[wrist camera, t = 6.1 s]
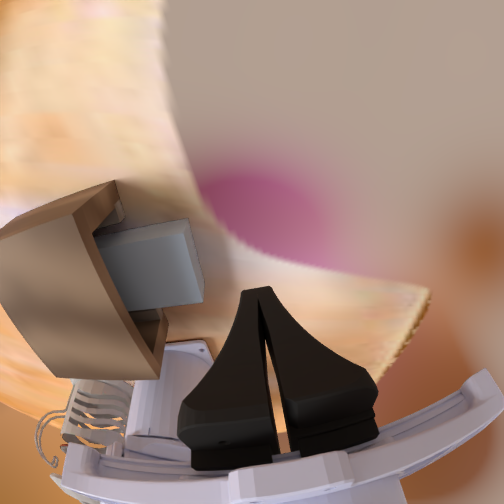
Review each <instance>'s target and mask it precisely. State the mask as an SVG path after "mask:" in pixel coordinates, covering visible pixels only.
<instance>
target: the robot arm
mask: <svg viewBox="0 0 504 504" xmlns="http://www.w3.org/2000/svg"><path fill="white" fill-rule="evenodd" d="M265 340H266V344H267V347H268V350H269V354H270V357H271V360H272V364H273V367H274V371H275V374H276V378H277V382H278V386H279V392H280V397H281V402H282V407H283V413H284V418H285V423H286V429H287V434H288V439H289V445H290V450H291V452H289V453H284V454H281V453H280V448H279V442H278V436H277V430H276V425H275V419H274V413H273V408H272V402H271V396H270V390H269V385H268V375H267V360H266V346H265ZM377 396H378V389H377V386H376V384H375V382H374V381H373V379H372V378H371V376H370V375H369V373H368V372H367V371H366V369H365V368H363V367H361V366H359V365H356V364H354V363H352V362H350V361H348V360H346V359H345V358H343V357H341V356H340V355H338V354H336V353H335V352H333V351H332V350H330V349H329V348H327V347H326V346H324V345H323V344H321V343H320V342H319V341H318V340H316V339H315V338H314V337H313V336H311V335H310V334H309V333H308V332H307V331H306V330H305V329H304V328H303V327H302V326H301V325H300V324H299V323H298V322H297V321H296V320H295V319H294V318H293V317H292V316H291V315H290V314H289V312H288V311H287V310H286V309H285V307H284V306H283V305H282V304H281V302H280V301H279V299H278V298H277V296H276V295H275V293H274V291H273V289H272V287H270V286H265V287H260V288H254V289H249V290H243V291H242V292H241V297H240V303H239V307H238V311H237V314H236V317H235V320H234V323H233V326H232V328H231V330H230V333H229V335H228V338H227V340H226V342H225V344H224V346H223V348H222V350H221V351H220V353H219V355H218V357H217V358H216V360H215V361H214V360H213V358H212V356H211V353H210V351H209V349H208V346H207V344H206V342H205V341H203V340H194V341H185V342H176V343H166V344H165V349H164V354H163V360H162V367H161V373H160V380H135V385H134V389H133V394H132V400H131V405H130V410H129V416H128V422H127V428H126V434H125V439H124V441H123V444H122V443H119V442H116V441H115V442H114V443H113V444H110V445H108V446H107V450H106V454H100V453H99V452H98V451H97V450H95V449H93V448H91V447H89V446H86V445H81V444H77V443H72V442H69V444H68V448H67V453H66V458H65V463H64V468H63V474H62V480H61V486H62V487H65V488H67V489H69V490H71V491H74V492H76V493H78V494H81V495H83V496H86V497H88V498H91V499H93V500H97V501H100V504H407V502H406V499H405V496H404V493H403V490H402V487H401V484H400V481H399V480H400V479H402V478H404V477H406V476H408V475H410V474H412V473H414V472H416V471H418V470H420V469H422V468H423V467H425V466H427V465H429V464H431V463H433V462H434V461H436V460H438V459H439V458H441V457H443V456H444V455H446V454H448V453H449V452H451V451H452V450H454V449H455V448H457V447H459V446H460V445H462V444H463V443H465V442H466V441H468V440H469V439H470V438H472V437H473V436H475V435H476V434H477V433H479V432H480V431H482V430H483V429H484V428H485V427H486V426H487V425H488V424H489V423H491V422H492V421H493V420H494V419H495V418H496V417H497V416H498V415H499V414H500V413H501V412H502V411H503V410H504V396H503V395H502V393H501V391H500V389H499V388H498V386H497V384H496V383H495V381H494V380H493V378H492V377H491V375H490V373H489V372H488V370H487V369H486V368H483V369H482V370H480V371H479V372H477V373H475V374H474V375H472V376H471V377H469V378H468V379H467V380H466V381H465V382H464V383H463V385H462V386H461V388H460V389H459V390H458V391H456V392H454V393H452V394H450V395H449V396H447V397H445V398H443V399H441V400H439V401H438V402H436V403H434V404H432V405H430V406H428V407H426V408H424V409H422V410H419V411H418V412H415V413H413V414H411V415H409V416H406V417H404V418H402V419H399V420H397V421H395V422H393V423H390V424H387V425H385V426H382V427H379V428H378V427H377V425H376V422H375V420H374V417H375V413H374V410H373V408H372V407H373V405H374V403H375V400H376V398H377Z"/></svg>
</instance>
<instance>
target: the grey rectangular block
mask: <svg viewBox="0 0 504 504" xmlns="http://www.w3.org/2000/svg"><path fill="white" fill-rule="evenodd" d="M94 240H95V243H96V245H97V248H98V250H99V252H100V255H101V257H102V259H103V262H104V264H105V266H106V268H107V271H108V273H109V275H110V277H111V279H112V281H113V283H114V285H115V287H116V289H117V291H118V294H119V296H120V297H121V299H122V301H123V303H124V305H125V307H126V309H127V311H136V310H145V309H154V308H163V307H172V306H180V305H188V304H195V303H203V299H204V287H205V281H204V278H203V274H202V271H201V267H200V263H199V259H198V256H197V252H196V248H195V244H194V240H193V236H192V232H191V228H190V224H189V220H188V218H186V219H181V220H175V221H170V222H165V223H159V224H154V225H149V226H144V227H139V228H135V229H130V230H125V231H120V232H116V233H111V234H107V235H102V236H98V237H94Z"/></svg>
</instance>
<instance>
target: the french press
mask: <svg viewBox="0 0 504 504" xmlns="http://www.w3.org/2000/svg"><path fill="white" fill-rule="evenodd" d="M70 380H71V382H72V384H73V388H72V391H71V394H70V397H69V400H68V403H67V406H66V409H65V410H57V411H51V412H49V413H47V414H45V415H44V416H43V417H42V418H41V419H40V421H39V422H38V424H37V428H36V431H35V443H36V447H37V450H38V452H39V453H40V455H41V457H42V458H43V459H44V460H45V461H46V462H47V463H48V464H49V465H50V466H51V467H53V468H56V467H57V466H58V458H57V457H56V456H54V457H53V461H52V463H50V462H49V461H48V460H47V459H46V457H45V456H44V454H43V452H42V449H41V435H42V431H43V429H44V427H45V426H46V425H47V424H48V423H49V422H50V421H51V420H53V419H56V418H65V419H64V423H63V426H62V430H61V434H62V433H63V436H62V438H63V439H64V440H65V441H66V442H67V443H68V444H69V442H72V443H77V444H81V445H85V444H84V443H82V442H81V441H79V439H78V438H77V437H76V436H75V435H77V436H80V437H82V438H84V439H85V440H87V441H88V442H90V443H94V444H102V445H105V446H108V445H110V444H113V443H114V442H115V441H116V442H119V443H122V444H123V441H124V439H125V434H126V428H127V422H128V416H129V410H130V405H131V400H132V394H133V389H134V387H132V386H130V385H129V384H127V383H126V382H124V381H123V380H87V379H71V378H70ZM66 411H67V412H66ZM64 412H66V415H64V416H55V417H52V418H49V419H48V420H47V421H46V422H45V424H44V425H43V426H42V428H41V431H40V435H39V446H38V442H37V432H38V429H39V427H40V424H41V422H42V421H43V420H44V418H45V417H46V416H47V415H49V414H52V413H64ZM83 412H84V413H89V414H90V415H91V416H93V417H94V418H96V419H92V418H88V417H87V416H86V415H85V414H84V413H83ZM80 415H81V416H82V417H81V416H80ZM126 416H127V418H126ZM117 417H121V418H122V419H123V420H120V421H116V420H113V419H112V418H117ZM78 423H79V425H80V426H81V427H82V428H80V427H78ZM84 423H87V424H91V425H92V426H95V427H100V428H104V427H110V426H117V427H120V428H119V429H113V430H108V429H90V428H89V427H87V426H86V425H85V424H84ZM123 425H125V427H124V426H123ZM120 433H124V437H122V436H121V434H120ZM68 444H62V445H61V446H60V448H61V450H62V451H63V452H65V453H67V448H68ZM86 446H87V445H86ZM39 447H40V449H39ZM91 448H92V447H91ZM93 449H95V450H97V451H98V452H99V453H100V454H106V450H107V447H105V448H100V449H98V448H93ZM55 458H56V464H55V466H52V465H53V464H54V462H55ZM50 477H51V478H52V479H53V481H54V482H55V483H56V484H57V485H58V486H59V487H60V488H61V489H62V490H63V491H64V492H66V493H67V494H68V495H71V496H72V497H74V498H76V499H77V500H80V502H81V503H82V504H100V501H97V500H93V499H91V498H88V497H86V496H83V495H81V494H78V493H76V492H74V491H71V490H69V489H67V488H65V487H62V486H61V480H62V476H61V475H58V474H54V473H52V474H51V475H50Z"/></svg>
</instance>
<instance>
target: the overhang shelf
mask: <svg viewBox="0 0 504 504" xmlns="http://www.w3.org/2000/svg"><path fill="white" fill-rule="evenodd" d="M124 217H125V214H124V211H123V208H122V205H121V201H120V198H119V195H118V192H117V188H116V185H115V182H114V180H113V181H109V182H106V183H103V184H100V185H97V186H94V187H91V188H88V189H85V190H82V191H79V192H77V193H74V194H71V195H68V196H66V197H63V198H60V199H58V200H55V201H53V202H50V203H48V204H45V205H43V206H40V207H38V208H36V209H33V210H31V211H29V212H26V213H24V214H22V215H20V216H17V217H15V218H14V219H13V220H11V221H10V222H9V223H8V224H6V225H5V226H4V227H3V228H1V229H0V303H1V305H2V307H3V308H4V310H5V311H6V313H7V315H8V316H9V318H10V319H11V321H12V322H13V323H14V325H15V326H16V328H17V329H18V331H19V332H20V333H21V335H22V336H23V338H24V339H25V340H26V342H27V343H28V344H29V345H30V347H31V348H32V349H33V351H34V352H35V353H36V354H37V356H38V357H39V358H40V359H41V360H42V362H43V363H44V364H45V365H46V366H47V367H48V369H49V370H50V371H51V372H52V373H53V374H54V375H55V376H56V377H59V378H71V379H87V380H160V373H161V367H162V360H163V354H164V349H165V343H166V337H167V332H168V326H169V323H168V321H167V319H166V317H165V315H164V313H163V310H162V308H154V309H145V310H136V311H127V309H126V307H125V305H124V303H123V301H122V299H121V297H120V296H119V294H118V291H117V289H116V287H115V285H114V283H113V281H112V279H111V277H110V275H109V273H108V271H107V268H106V266H105V264H104V262H103V259H102V257H101V255H100V252H99V250H98V248H97V245H96V243H95V240H94V238H93V235H92V233H93V231H94V230H95V229H97V228H101V227H105V226H109V225H113V224H117V223H120V222H121V221H122V220H123V219H124Z"/></svg>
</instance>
